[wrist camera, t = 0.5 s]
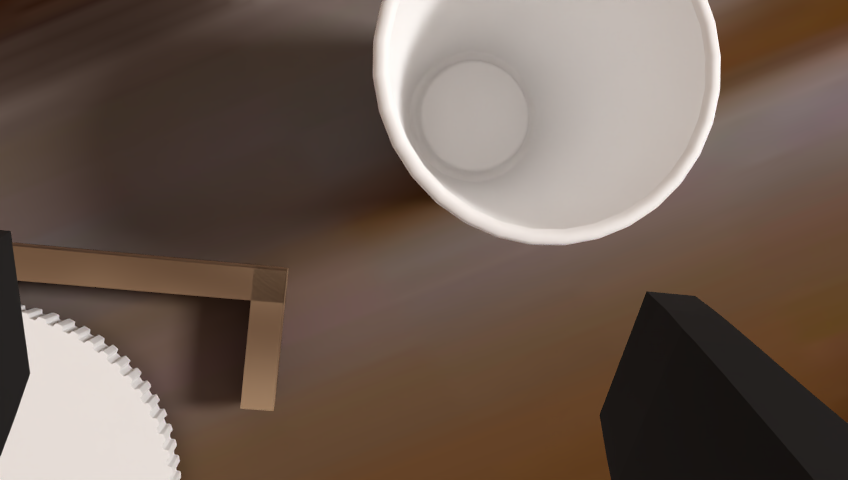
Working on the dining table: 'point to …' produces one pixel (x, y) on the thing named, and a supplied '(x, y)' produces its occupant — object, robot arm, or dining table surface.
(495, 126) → the cup
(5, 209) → the dining table surface
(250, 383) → the tub frame
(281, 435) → the dining table surface
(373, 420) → the dining table surface
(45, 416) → the plastic lid
